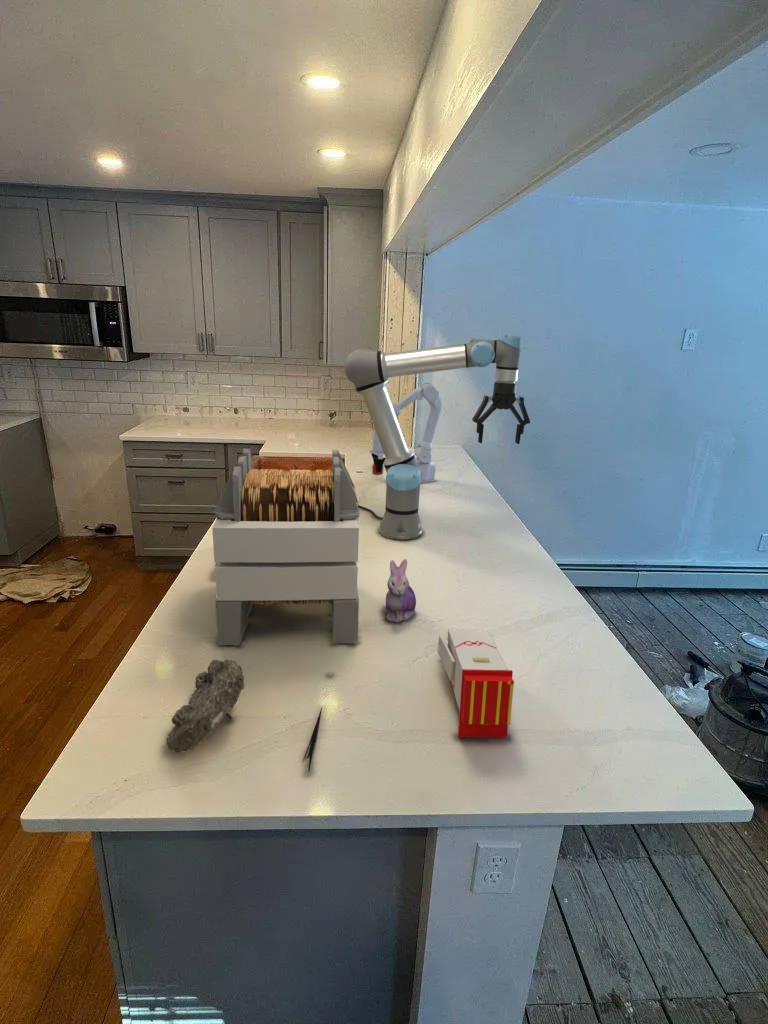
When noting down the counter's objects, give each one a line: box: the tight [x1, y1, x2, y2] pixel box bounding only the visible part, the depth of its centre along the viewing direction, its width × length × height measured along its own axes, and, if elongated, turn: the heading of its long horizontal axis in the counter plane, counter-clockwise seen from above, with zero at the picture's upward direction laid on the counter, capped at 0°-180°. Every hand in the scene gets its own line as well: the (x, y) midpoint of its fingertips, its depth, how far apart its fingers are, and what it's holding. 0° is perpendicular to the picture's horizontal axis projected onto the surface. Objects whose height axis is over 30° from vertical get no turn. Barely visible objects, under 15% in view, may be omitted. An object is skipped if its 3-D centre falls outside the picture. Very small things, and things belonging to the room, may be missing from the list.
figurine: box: [384, 558, 417, 623], centre depth 145 cm, size 9×10×15 cm
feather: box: [301, 673, 332, 771], centre depth 108 cm, size 2×28×2 cm
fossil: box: [166, 658, 245, 754], centre depth 106 cm, size 22×10×15 cm
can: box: [371, 463, 384, 476], centre depth 260 cm, size 5×5×4 cm
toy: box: [437, 628, 515, 738], centre depth 117 cm, size 12×13×30 cm
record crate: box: [212, 448, 360, 647], centre depth 140 cm, size 34×33×41 cm
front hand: (498, 442), depth 201 cm, fingers open, 13 cm apart
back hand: (377, 470), depth 260 cm, fingers closed on can, 5 cm apart
